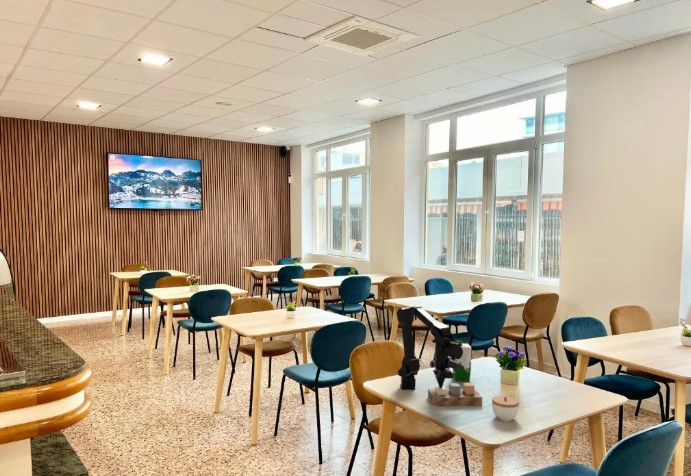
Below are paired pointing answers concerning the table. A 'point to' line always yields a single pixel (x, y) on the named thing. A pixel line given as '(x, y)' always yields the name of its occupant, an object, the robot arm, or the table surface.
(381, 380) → the table surface
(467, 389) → the orange cube
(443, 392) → the ivory key
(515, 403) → the lidded jar
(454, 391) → the grey cube
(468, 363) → the milk carton
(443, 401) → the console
